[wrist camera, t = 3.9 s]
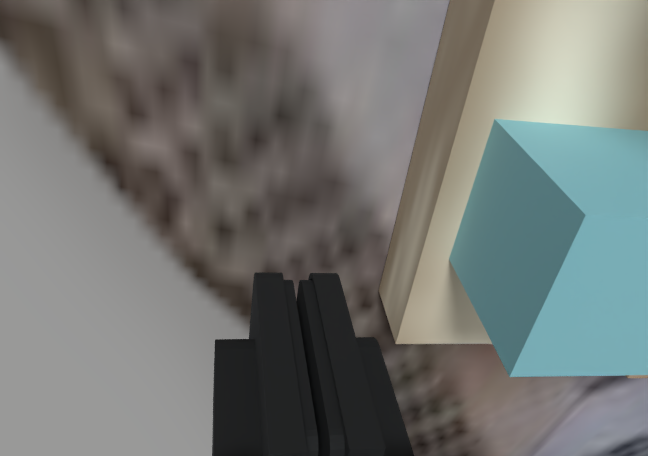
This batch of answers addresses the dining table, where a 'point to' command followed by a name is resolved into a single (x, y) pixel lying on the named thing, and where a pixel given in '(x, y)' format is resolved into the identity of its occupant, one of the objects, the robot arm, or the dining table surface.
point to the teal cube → (559, 248)
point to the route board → (476, 122)
